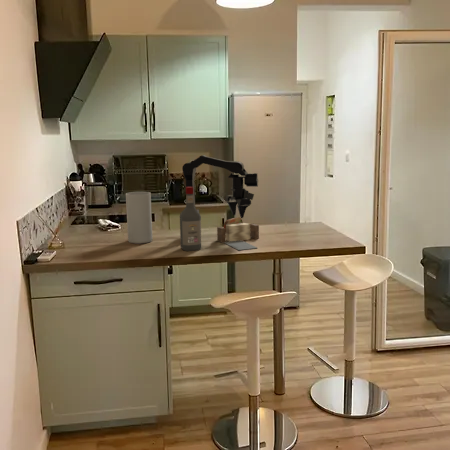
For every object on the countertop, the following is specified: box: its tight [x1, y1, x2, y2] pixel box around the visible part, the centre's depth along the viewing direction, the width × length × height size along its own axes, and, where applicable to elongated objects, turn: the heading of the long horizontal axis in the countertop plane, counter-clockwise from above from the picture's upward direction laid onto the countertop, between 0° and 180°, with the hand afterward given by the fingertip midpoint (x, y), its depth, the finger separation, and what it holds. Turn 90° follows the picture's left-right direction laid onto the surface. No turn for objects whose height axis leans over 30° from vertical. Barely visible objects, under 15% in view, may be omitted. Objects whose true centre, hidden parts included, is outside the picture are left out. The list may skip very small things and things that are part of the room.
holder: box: [216, 223, 260, 244], centre depth 273 cm, size 21×6×7 cm, turn 114°
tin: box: [223, 217, 244, 235], centre depth 288 cm, size 15×3×8 cm, turn 143°
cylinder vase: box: [125, 191, 153, 245], centre depth 270 cm, size 12×12×25 cm
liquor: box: [179, 186, 202, 252], centre depth 252 cm, size 9×9×30 cm
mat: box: [223, 240, 258, 252], centre depth 260 cm, size 10×18×1 cm, turn 24°
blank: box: [225, 222, 251, 242], centre depth 273 cm, size 12×4×8 cm, turn 114°
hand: (238, 216), depth 271 cm, fingers open, 9 cm apart
